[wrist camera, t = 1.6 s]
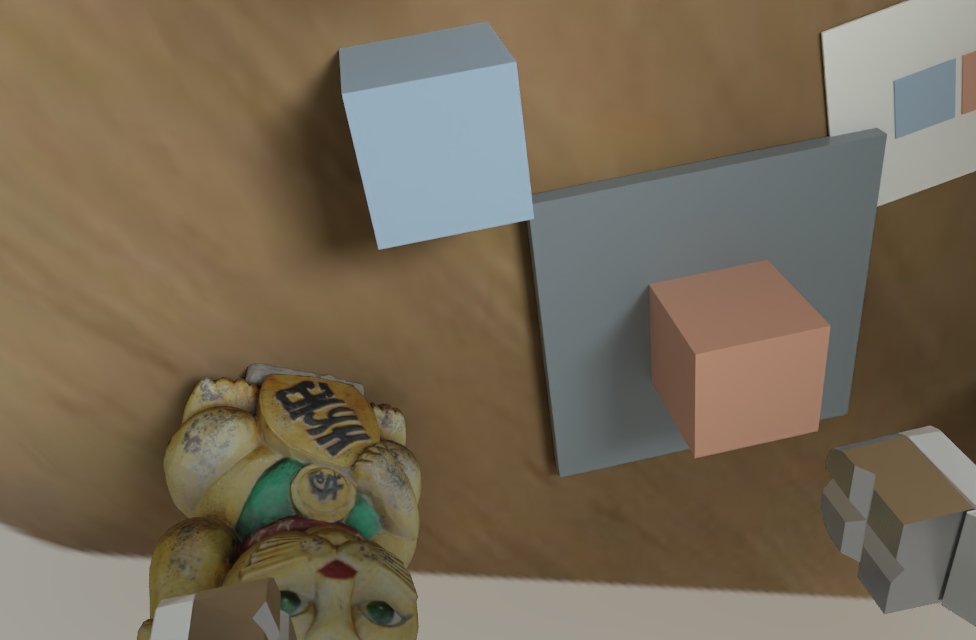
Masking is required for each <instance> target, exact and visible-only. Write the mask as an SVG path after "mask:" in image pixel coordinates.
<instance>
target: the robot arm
mask: <svg viewBox="0 0 976 640" xmlns="http://www.w3.org/2000/svg"><path fill="white" fill-rule="evenodd" d="M825 469H826V470H827V471H828V473H829V474H830V475H831V477H832V480H831V481H830V482H829V483H828V484H827V485H826V487H825V488H824V489H823V490H822V499H821V511H822V515H823V520H824V524H825V527H826V529H827V531H828V533H829V535H830V537H831V539H832V541H833V542H834V544H835V545H836V547H837V548H838V550H839V551H840V553H842V554H844V555H846V556H848V557H850V558H852V559H854V560H856V561H858V562H859V570H858V578H859V579H860V581H861V582H862V584H863V585H864V586H865V588H866V589H867V591H868V592H869V593H870V595H871V596H872V598H873V599H874V600H875V602H876V603H877V605H878V606H879V607H880V609H881V610H882V611H883V613H884V614H887V613H892V612H896V611H900V610H905V609H910V608H915V607H919V606H924V605H929V604H933V603H938V602H942V604H941V605H942V606H944V607H946V608H947V609H949V610H950V611H952V612H954V613H955V614H957V615H958V616H960V617H961V618H963V619H965V620H966V621H968V622H969V623H971V624H973V625H974V626H976V465H975V464H974V463H973V462H972V461H971V460H970V459H969V458H968V457H967V456H966V455H965V454H964V453H963V452H962V451H961V450H960V449H959V448H958V447H957V446H956V445H955V444H954V443H953V442H952V441H951V440H950V439H948V438H947V437H946V436H945V435H944V434H943V433H942V432H941V431H940V430H939V429H937V428H935V427H933V426H926V427H921V428H917V429H913V430H908V431H904V432H900V433H897V434H890V435H886V436H882V437H878V438H874V439H869V440H865V441H861V442H857V443H853V444H849V445H844V446H840V447H836V448H832V450H831V451H830V452H829V454H828V455H827V460H826V467H825ZM280 602H281V593H280V591H279V588H278V586H277V584H276V582H275V580H274V578H271V577H269V578H264V579H259V580H254V581H249V582H244V583H239V584H234V585H229V586H224V587H219V588H214V589H209V590H204V591H199V592H197V593H192V594H187V595H182V596H177V597H172V598H168V599H163V600H161V601H160V603H159V605H158V607H157V608H156V610H155V613H154V618H153V623H152V628H151V633H150V639H149V640H297V637H296V633H295V629H294V625H293V623H292V620H291V618H290V615H289V614H288V613H286V612H284V611H282V610H280Z"/></svg>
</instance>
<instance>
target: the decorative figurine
mask: <svg viewBox="0 0 976 640" xmlns="http://www.w3.org/2000/svg"><path fill="white" fill-rule="evenodd" d="M405 444H406V424H405V420H404V417H403V414H402V412H401V411H400V410H399V409H398V408H391V406H390V405H387V404H380V405H376V404H374V403H373V402H372V403H371V404H370V403H369V402H368V401H367V400H366V398H365V397H364V388H363V386H362V385H361V384H358V383H353V382H348V381H347V382H346V381H345V380H341V379H337V378H335V377H333V376H331V375H329V374H326V375H318V374H314V373H308V372H302V371H297V370H291V369H285V368H279V367H272V366H269V365H265V364H252V365H250V366H249V367H248V370H247V372H246V378H245V379H242V378H238V379H237V380H236V381H235V382H233V381H232V380H231V379H229V378H225V377H222V378H220V379H218V380H216V381H215V380H213V379H211V378H209V377H208V376H207V377H202V378H201V380H200V381H199V382H198V383H197V384H196V386H195V388H194V390H193V392H192V394H191V396H190V398H189V400H188V402H187V404H186V406H185V408H184V414H183V419H182V425H181V427H180V428H179V429H178V431H177V432H176V433H175V434H174V436H173V437H172V438H171V440H170V442H169V443H168V445H167V449H166V453H165V457H164V462H163V465H164V471H165V476H166V482H167V487H168V489H169V492H170V495H171V497H172V500H173V502H174V504H175V505H176V507H177V508H178V509H179V510H180V511H181V512H183V513H184V514H185V515H186V516H187V517H188V518H189V519H186V520H184V521H182V522H180V523H178V524H176V525H174V526H173V527H171V528H170V529H169V530H168V531H167V532H166V533H165V534H164V535H163V536H162V537H161V538H160V540H159V542H158V544H157V546H156V548H155V550H154V552H153V557H152V561H151V565H150V574H149V588H150V619H148V620H146V621H145V622H143V624H142V626H141V627H140V629H139V631H138V636H137V640H149V639H150V633H151V628H152V623H153V618H154V613H155V610H156V608H157V607H158V605H159V603H160V601H161V600H163V599H168V598H172V597H177V596H182V595H187V594H192V593H197V592H199V591H204V590H209V589H214V588H219V587H224V586H229V585H234V584H239V583H244V582H249V581H254V580H259V579H264V578H269V577H271V578H274V580H275V582H276V584H277V586H278V588H279V591H280V593H281V602H280V610H282V611H284V612H286V613H288V614H289V615H290V618H291V620H292V623H293V625H294V629H295V633H296V637H297V640H416V639H417V633H418V614H417V603H416V601H417V597H418V595H417V593H416V590H415V587H414V584H413V581H412V578H411V575H410V574H409V572H408V571H407V570H406V569H407V568H408V566H409V564H410V562H411V560H412V558H413V555H414V552H415V549H416V544H417V537H418V533H419V512H418V506H417V505H418V502H419V498H420V494H421V472H420V465H419V463H418V461H417V460H416V458H415V456H414V455H413V453H412V452H411V451H410V450H408V449H407V448H406V447H405Z"/></svg>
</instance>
